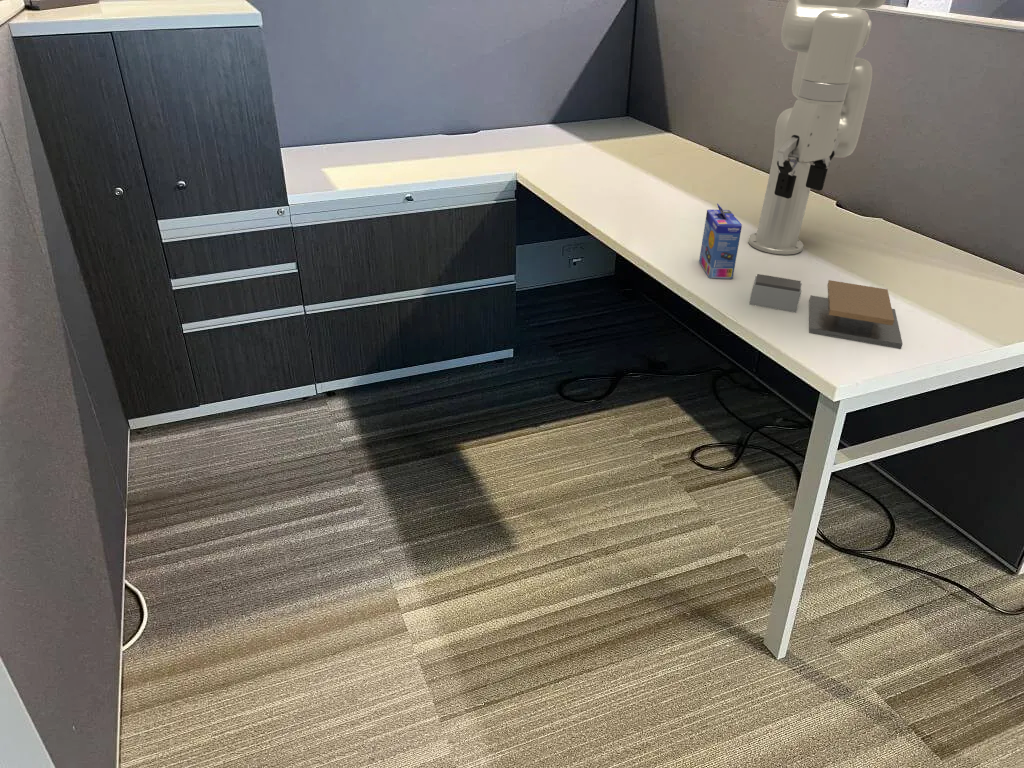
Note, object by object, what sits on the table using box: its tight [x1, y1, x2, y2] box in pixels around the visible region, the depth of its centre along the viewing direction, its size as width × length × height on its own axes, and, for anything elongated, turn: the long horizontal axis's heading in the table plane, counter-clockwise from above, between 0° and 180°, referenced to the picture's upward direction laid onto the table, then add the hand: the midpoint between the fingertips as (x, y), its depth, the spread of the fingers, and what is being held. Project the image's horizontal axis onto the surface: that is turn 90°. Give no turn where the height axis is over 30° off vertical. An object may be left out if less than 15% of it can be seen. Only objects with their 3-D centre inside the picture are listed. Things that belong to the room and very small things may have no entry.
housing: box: [749, 273, 802, 313], centre depth 153 cm, size 5×9×5 cm, turn 71°
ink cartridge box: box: [698, 203, 743, 280], centre depth 164 cm, size 10×6×14 cm, turn 2°
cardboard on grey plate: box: [808, 279, 903, 350], centre depth 146 cm, size 16×16×5 cm
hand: (798, 192), depth 137 cm, fingers open, 9 cm apart
